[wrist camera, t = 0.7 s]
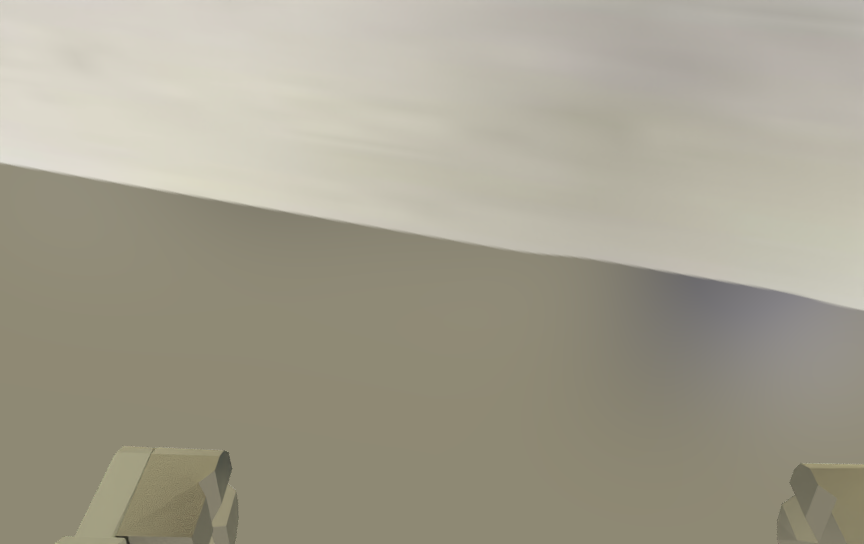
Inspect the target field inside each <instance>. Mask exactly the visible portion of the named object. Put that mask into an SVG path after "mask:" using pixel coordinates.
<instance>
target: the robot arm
mask: <svg viewBox="0 0 864 544" xmlns="http://www.w3.org/2000/svg"><path fill="white" fill-rule="evenodd" d="M231 471H232V466H231V461H230V456H229V452H227V451H225V450H208V449H187V448H186V449H185V448H165V447H157V448H153V447H133V446H132V447H131V446H123V447H122V448H121V449H120V450H119V451H118V452H116V454H115V455H114V457H113V459H112V461H111V463H110V465H109V467H108V469H107V471H106V473H105V475H104V477H103V479H102V481H101V483H100V485H99V487H98V489H97V491H96V493H95V496H94V498H93V500H92V502H91V504H90V506H89V508H88V510H87V512H86V514H85V516H84V518H83V520H82V522H81V524H80V526H79V528H78V530H77V532H76V534H75V536H64V537H63V538H61V539H60V540H58V541H57V542H56V543H54V544H235V541H236V535H237V527H238V518H239V516H238V499H237V493H236V490H235V489H234V488H233V487H232V486H230V485H229V484H228V481H229V478H230V475H231ZM790 485H791V487H792V489H793V491H794V494H795V495H794V496H792V497H791V498H790V499H788V500H787V501H786V502H784V503H783V504H782V506H781V509H780V512H779V516H778V519H777V541H778V544H864V464H814V463H808V464H807V463H801V464H799V465H798V466H797V467H796V468H795V469H794V472H793V474H792V477H791V480H790Z"/></svg>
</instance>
